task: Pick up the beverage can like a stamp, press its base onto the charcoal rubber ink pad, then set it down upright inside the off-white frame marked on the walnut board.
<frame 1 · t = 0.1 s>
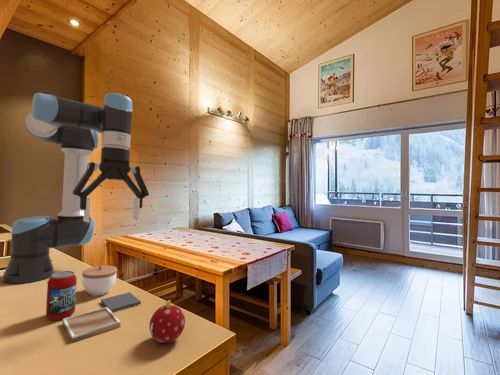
hand: (112, 220, 77), 28 cm above the counter, fingers open, 13 cm apart
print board: (91, 325, 71), on the counter
lidded jar: (99, 292, 92), on the counter
ink pad: (120, 303, 84), on the counter
christmas ornament: (166, 340, 66), on the counter
beverage can: (60, 316, 75), on the counter
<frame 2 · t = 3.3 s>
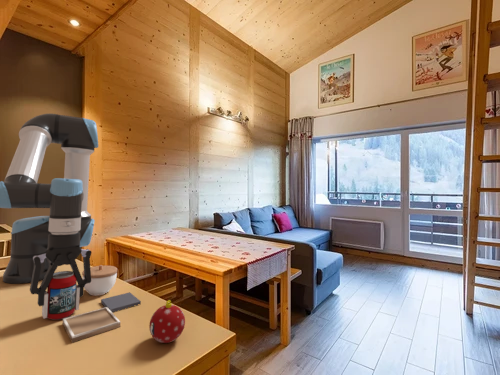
hand: (60, 312, 75), 1 cm above the counter, fingers closed on beverage can, 7 cm apart
beverage can: (60, 316, 75), on the counter, touching gripper
everything else where it was.
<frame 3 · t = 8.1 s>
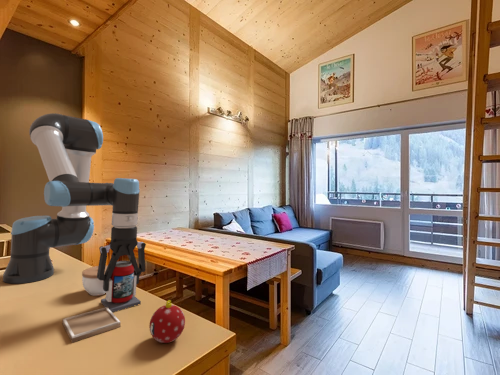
hand: (121, 297, 84), 2 cm above the counter, fingers closed on beverage can, 7 cm apart
beverage can: (120, 300, 84), point 1 cm above the counter, touching gripper, ink pad
everything else where it was.
when the fingers open (3 cm above the counter, at t = 13.2 s): beverage can drops 1 cm, resting on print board.
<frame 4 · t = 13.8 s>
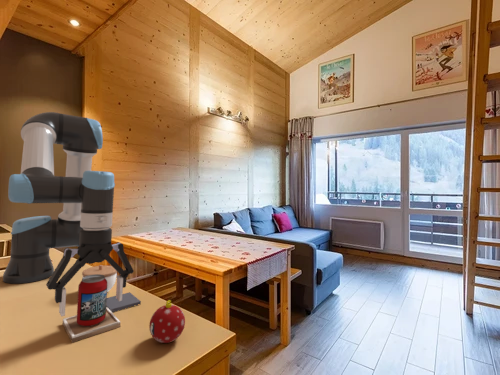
hand: (92, 306, 71), 5 cm above the counter, fingers open, 13 cm apart
beverage can: (91, 322, 71), point 1 cm above the counter, touching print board
everything else where it was.
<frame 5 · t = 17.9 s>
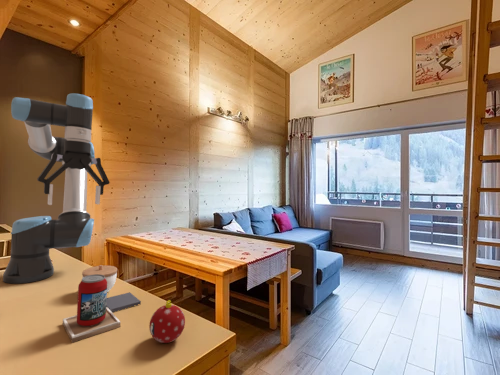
hand: (74, 204, 88), 31 cm above the counter, fingers open, 13 cm apart
nothing on the counter moved.
at the end: beverage can 0.1 cm off-centre on the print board, point 0.8 cm above the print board's base; beverage can tilted 0°; the gripper is holding nothing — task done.
